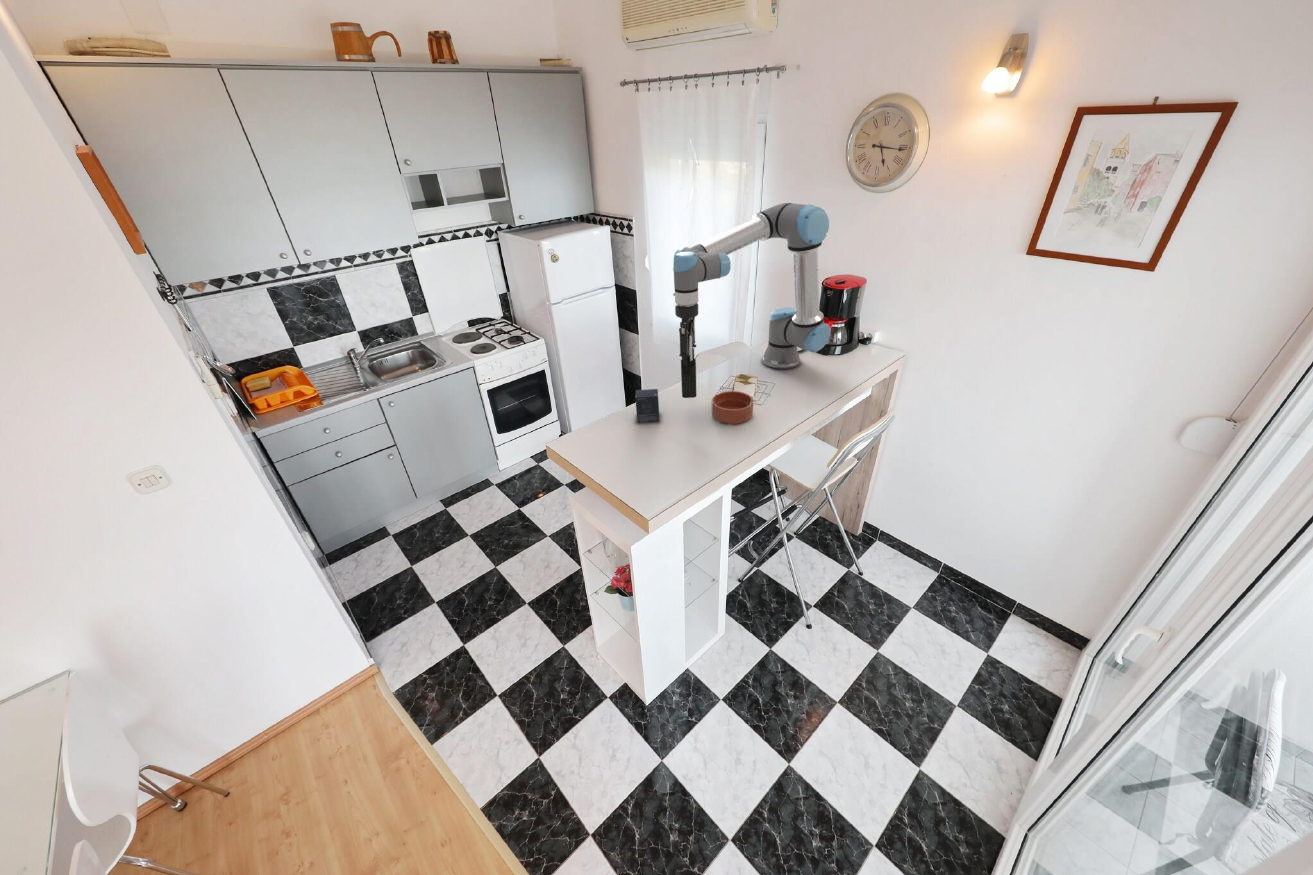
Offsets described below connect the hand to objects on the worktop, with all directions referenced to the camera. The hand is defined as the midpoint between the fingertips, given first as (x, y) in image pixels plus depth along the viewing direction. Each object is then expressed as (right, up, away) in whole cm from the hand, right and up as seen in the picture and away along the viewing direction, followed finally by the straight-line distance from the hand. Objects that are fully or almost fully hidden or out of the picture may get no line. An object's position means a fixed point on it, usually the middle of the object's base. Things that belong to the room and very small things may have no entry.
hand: (688, 369), depth 174 cm
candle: (+1, -9, +5) cm, 10 cm away
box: (-14, -17, +5) cm, 23 cm away
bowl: (+16, -16, +5) cm, 23 cm away
